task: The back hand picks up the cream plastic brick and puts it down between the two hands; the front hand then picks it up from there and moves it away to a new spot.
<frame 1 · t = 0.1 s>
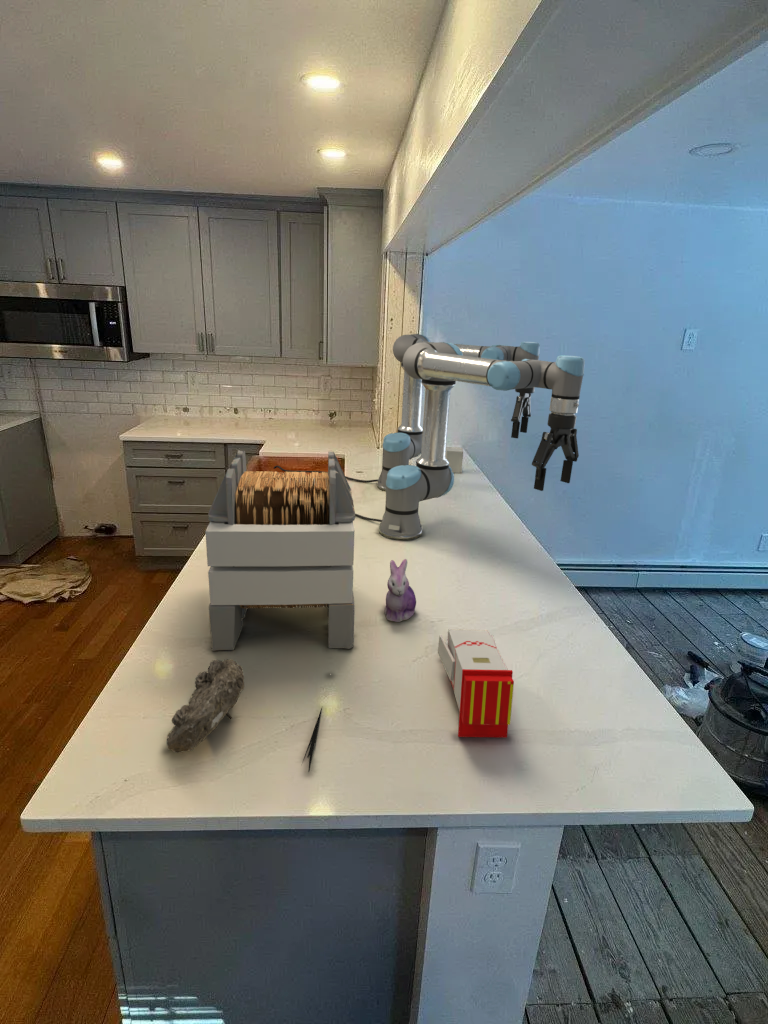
front hand: (552, 485, 166), 28 cm above the counter, tool pointing down, fingers open, 13 cm apart
back hand: (519, 435, 233), 28 cm above the counter, tool pointing down, fingers open, 13 cm apart
brick: (452, 470, 283), on the counter
fossil: (212, 717, 108), on the counter
feather: (319, 719, 109), on the counter
record crate: (286, 614, 145), on the counter
figurine: (399, 614, 147), on the counter
toy: (469, 691, 119), on the counter
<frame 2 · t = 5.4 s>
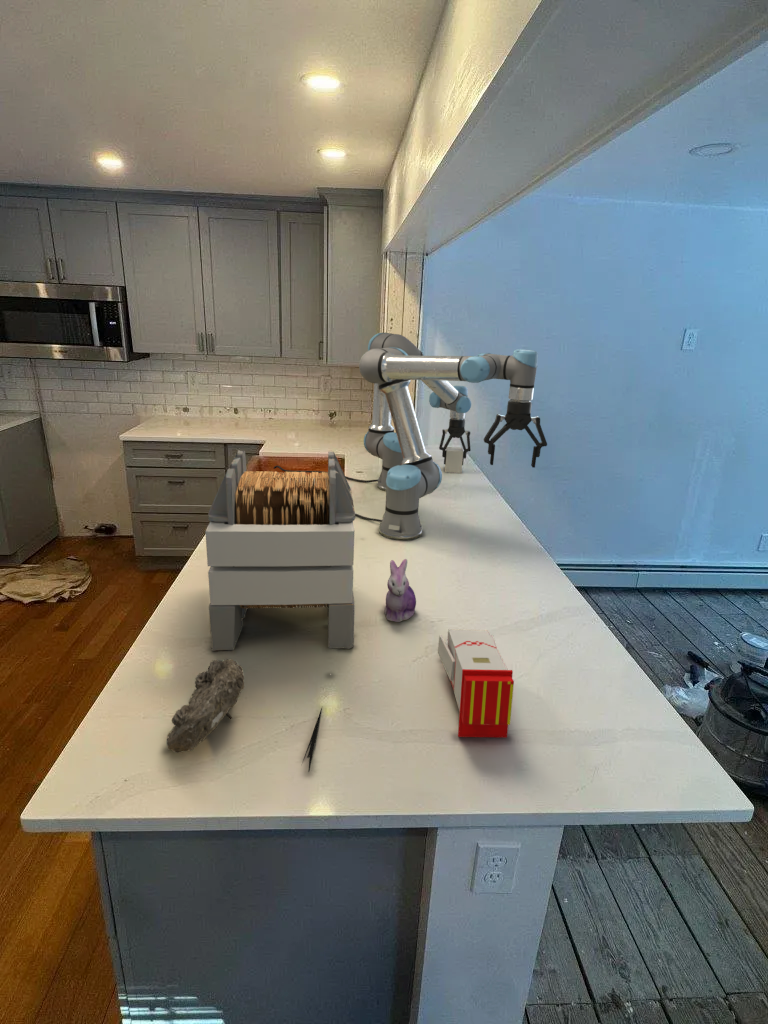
front hand: (512, 465, 187), 28 cm above the counter, tool pointing down, fingers open, 13 cm apart
back hand: (453, 464, 282), 3 cm above the counter, tool pointing down, fingers closed on brick, 8 cm apart
brick: (452, 470, 283), on the counter, touching back hand
everything else where it was.
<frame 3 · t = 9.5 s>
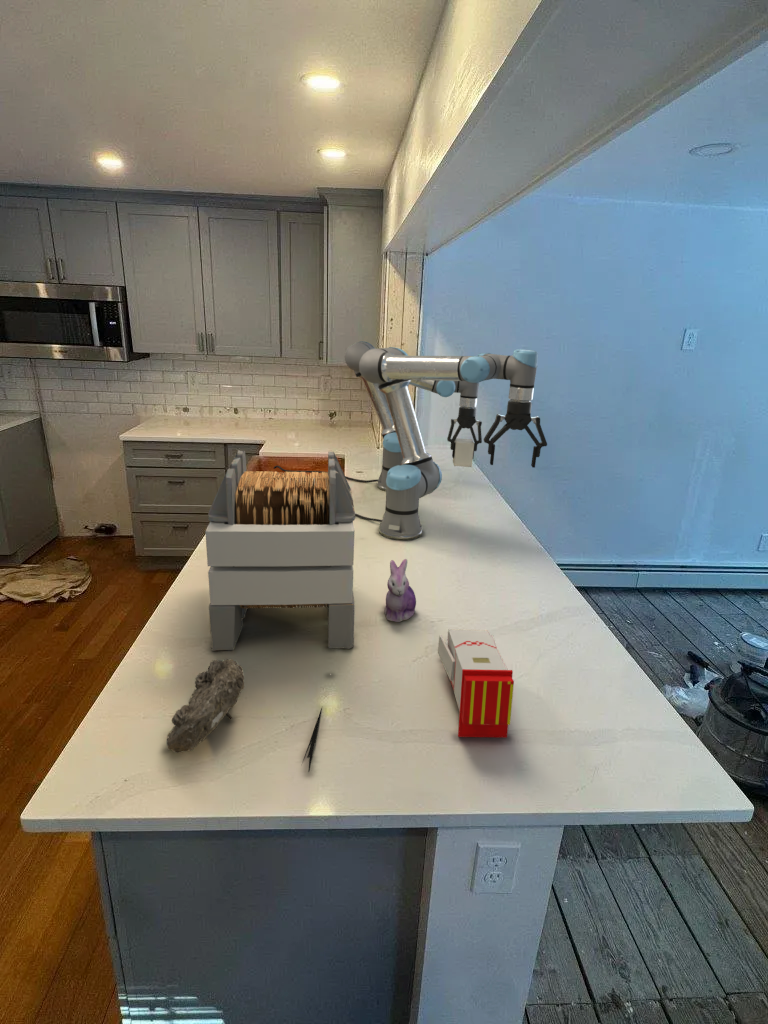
front hand: (512, 465, 187), 28 cm above the counter, tool pointing down, fingers open, 13 cm apart
back hand: (462, 457, 257), 13 cm above the counter, tool pointing down, fingers closed on brick, 8 cm apart
brick: (462, 464, 258), point 9 cm above the counter, touching back hand
everything else where it was.
when the back hand's fingers open (5 cm above the counter, at t = 13.7 s): brick drops 2 cm, on the counter.
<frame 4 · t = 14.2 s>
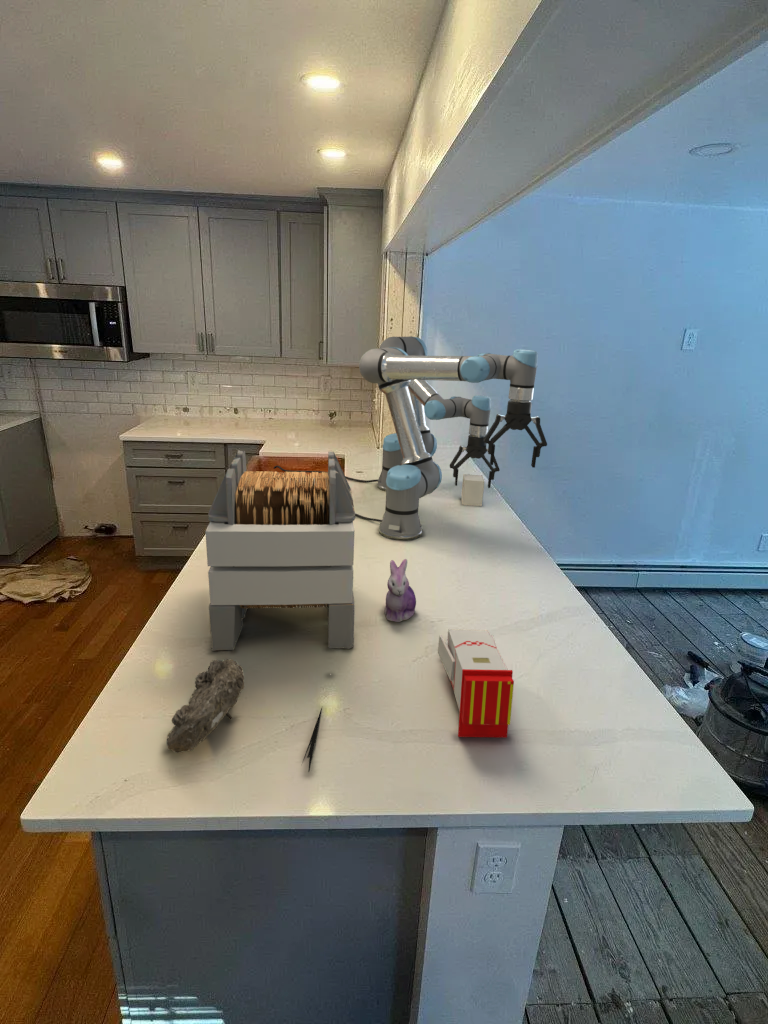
front hand: (512, 465, 187), 28 cm above the counter, tool pointing down, fingers open, 13 cm apart
back hand: (472, 486, 234), 7 cm above the counter, tool pointing down, fingers open, 13 cm apart
brick: (471, 502, 237), on the counter
everything else where it was.
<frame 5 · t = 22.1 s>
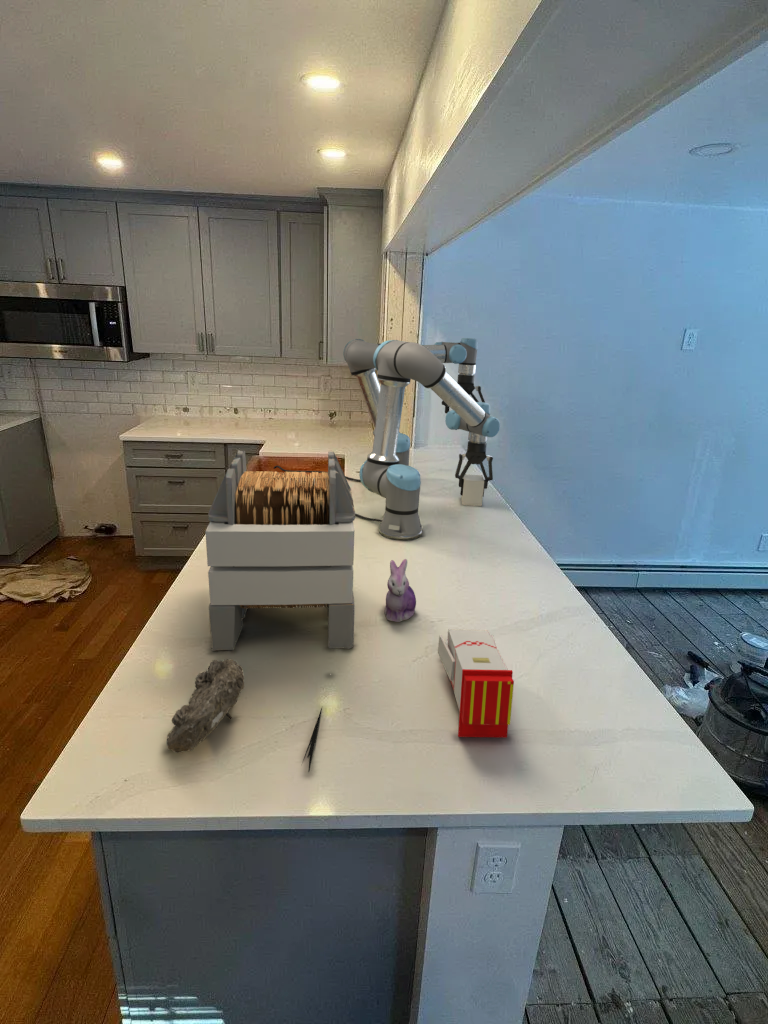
front hand: (471, 495, 236), 3 cm above the counter, tool pointing down, fingers closed on brick, 8 cm apart
back hand: (462, 421, 261), 27 cm above the counter, tool pointing down, fingers open, 13 cm apart
brick: (471, 502, 237), on the counter, touching front hand
everything else where it was.
when the front hand's fingers open (5 cm above the counter, at t = 33.5 s): brick drops 2 cm, on the counter.
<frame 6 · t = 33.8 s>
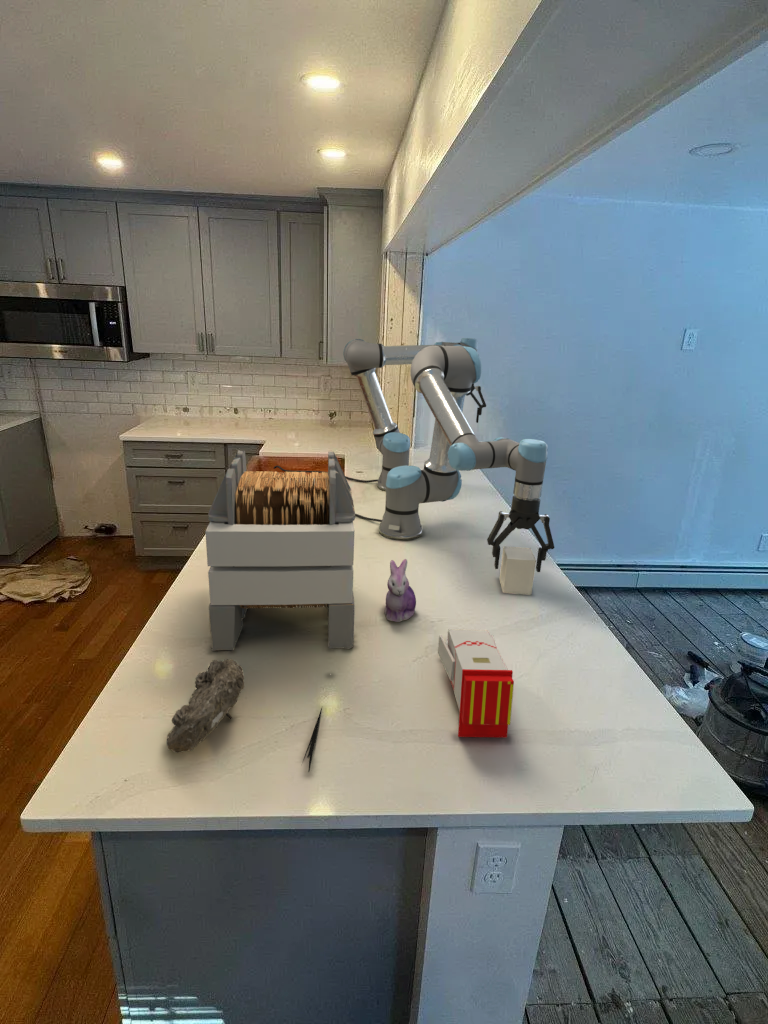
front hand: (516, 568, 163), 6 cm above the counter, tool pointing down, fingers open, 11 cm apart
back hand: (462, 421, 261), 27 cm above the counter, tool pointing down, fingers open, 13 cm apart
brick: (514, 586, 165), on the counter
everything else where it was.
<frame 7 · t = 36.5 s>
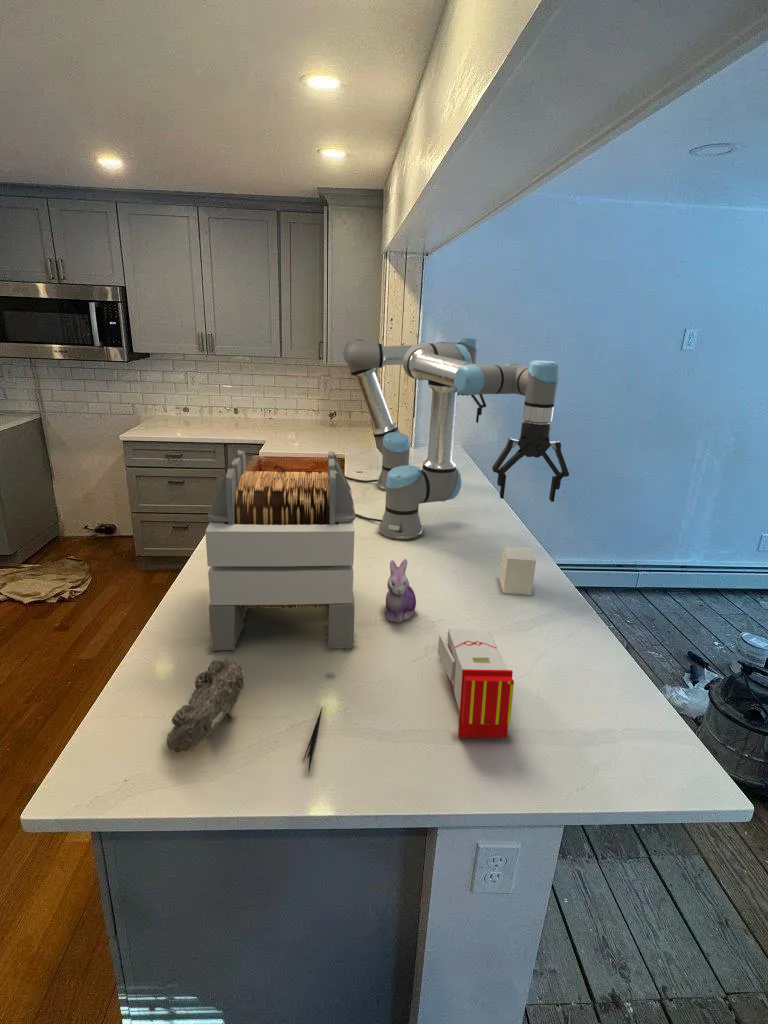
front hand: (526, 498, 156), 27 cm above the counter, tool pointing down, fingers open, 13 cm apart
back hand: (462, 421, 261), 27 cm above the counter, tool pointing down, fingers open, 13 cm apart
nothing on the counter moved.
at the end: brick inside the target area (0.1 cm from its centre), on the counter; brick tilted 0°; the two hands never held the brick at the same time; the front hand is holding nothing; the back hand is holding nothing; brick at rest at the end (0.0 cm/s) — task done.
